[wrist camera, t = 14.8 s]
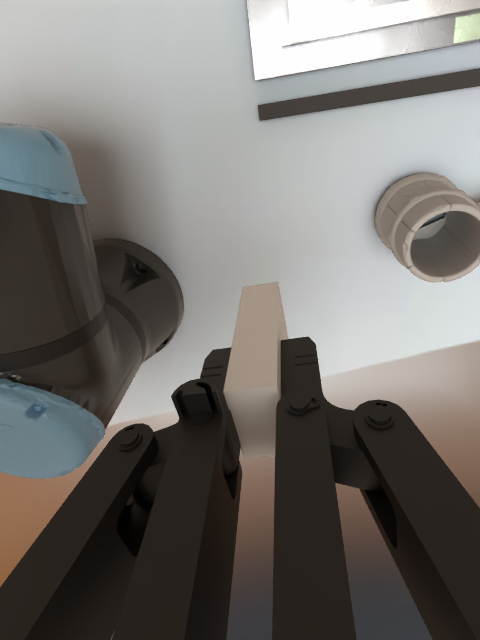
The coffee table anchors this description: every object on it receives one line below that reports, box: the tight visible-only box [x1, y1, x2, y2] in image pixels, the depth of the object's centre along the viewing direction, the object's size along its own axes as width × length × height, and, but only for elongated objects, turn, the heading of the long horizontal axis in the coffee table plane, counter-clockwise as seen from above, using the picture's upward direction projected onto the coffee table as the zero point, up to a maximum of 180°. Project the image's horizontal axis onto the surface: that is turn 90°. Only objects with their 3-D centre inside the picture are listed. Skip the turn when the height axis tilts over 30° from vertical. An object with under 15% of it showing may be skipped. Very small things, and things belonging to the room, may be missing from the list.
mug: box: [375, 173, 480, 282], centre depth 32 cm, size 8×12×12 cm, turn 103°
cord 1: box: [258, 69, 480, 121], centre depth 32 cm, size 24×1×1 cm, turn 98°
